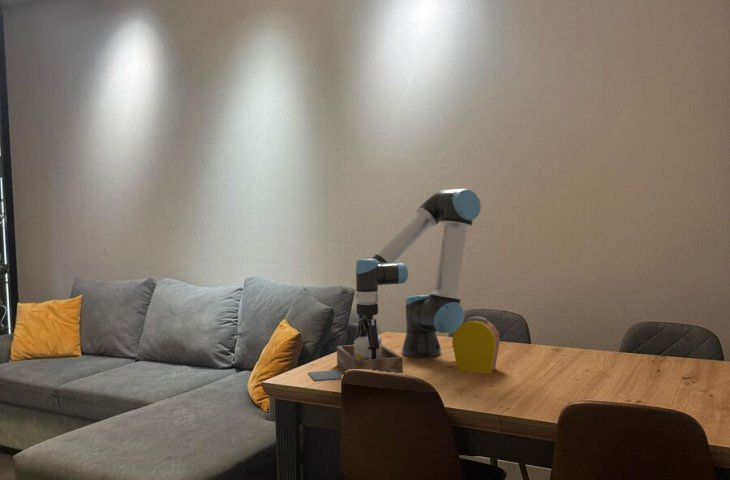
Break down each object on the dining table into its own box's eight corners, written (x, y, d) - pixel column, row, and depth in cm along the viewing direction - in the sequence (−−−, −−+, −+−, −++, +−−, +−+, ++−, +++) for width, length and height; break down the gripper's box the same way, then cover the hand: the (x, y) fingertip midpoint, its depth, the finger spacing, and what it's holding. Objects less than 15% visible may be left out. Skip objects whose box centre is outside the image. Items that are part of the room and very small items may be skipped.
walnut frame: (380, 361, 240) (379, 342, 240) (402, 378, 214) (402, 357, 214) (337, 365, 236) (336, 346, 235) (355, 382, 210) (354, 361, 210)
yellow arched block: (500, 368, 226) (500, 316, 225) (495, 374, 218) (494, 320, 217) (459, 365, 232) (458, 314, 231) (452, 370, 224) (451, 318, 224)
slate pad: (339, 370, 227) (339, 369, 227) (346, 378, 216) (346, 377, 216) (308, 373, 224) (308, 372, 224) (314, 381, 213) (314, 379, 213)
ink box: (378, 375, 220) (377, 341, 220) (354, 374, 222) (353, 340, 221) (382, 369, 228) (381, 336, 228) (359, 368, 230) (358, 335, 230)
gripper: (348, 299, 235) (348, 357, 236) (366, 308, 211) (367, 372, 212) (367, 298, 237) (368, 355, 238) (388, 307, 213) (388, 370, 214)
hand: (367, 363), depth 225 cm, fingers open, 13 cm apart
